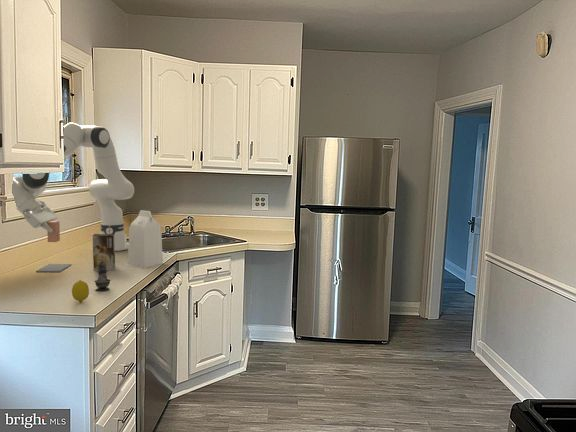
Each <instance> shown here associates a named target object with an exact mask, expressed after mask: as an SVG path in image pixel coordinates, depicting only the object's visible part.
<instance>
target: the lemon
mask: <svg viewBox="0 0 576 432" xmlns="http://www.w3.org/2000/svg"><path fill="white" fill-rule="evenodd" d="M89 294H90V286H89V285H88V283H87V282H85V281H84V280H81V279H79V280H78V281H76V282H74V284H72V287H71V295H72V298H73V299H74V300H75V301H77V302H79V303H82V302H83V301H85V300H86V299H88V297H89Z"/></svg>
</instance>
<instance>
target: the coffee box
mask: <svg viewBox="0 0 576 432" xmlns="http://www.w3.org/2000/svg"><path fill="white" fill-rule="evenodd" d="M92 258H93V260H92V261H93V263H92V264H93V265H92V266H93V271H95V272H96V271H98V264H99V263H100V262H101V260H103V261H104V262H105V263H106V270H107V271H115V269H116V251H115V238H114V234H99V233H94V234H93V235H92Z"/></svg>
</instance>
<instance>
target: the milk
mask: <svg viewBox="0 0 576 432" xmlns="http://www.w3.org/2000/svg"><path fill="white" fill-rule="evenodd" d="M161 226H162V225H160V223H159V222H158V221H157V220H156V219H155V218H154V217H153V216H152V212H151V211H150V210H143V209H142V210H139V213H138V216H137V217H136V218H134V220H133V221H132V222H131V224H130V225H129V229H128V243H129V246H128V249H127V251H128V252H127V265H132V266H137V267H141V268H147V267H153V266H156V265H157V266H158V265H162V264H164V260H163V259H164V258H163V256H164V255H163V242H162V241H163V240H162V227H161Z"/></svg>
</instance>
